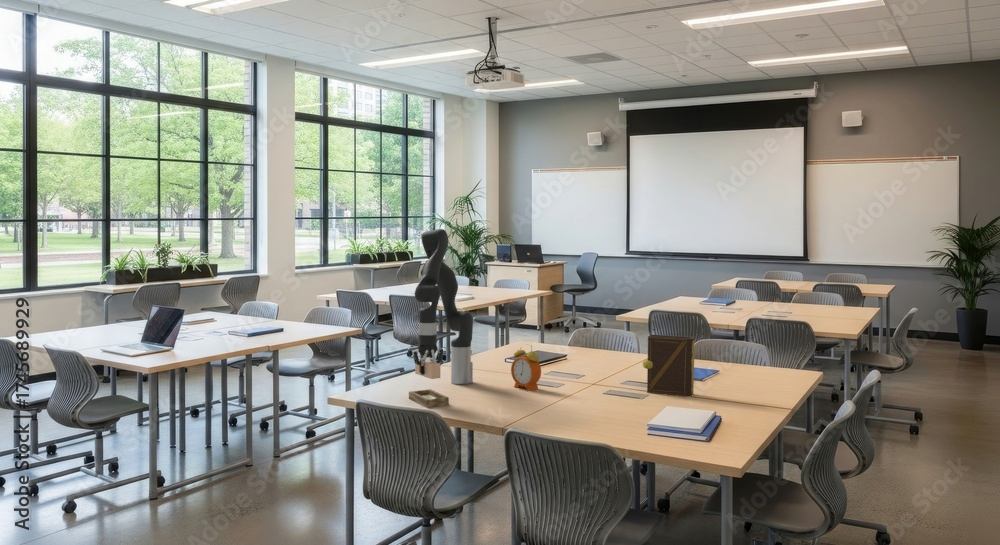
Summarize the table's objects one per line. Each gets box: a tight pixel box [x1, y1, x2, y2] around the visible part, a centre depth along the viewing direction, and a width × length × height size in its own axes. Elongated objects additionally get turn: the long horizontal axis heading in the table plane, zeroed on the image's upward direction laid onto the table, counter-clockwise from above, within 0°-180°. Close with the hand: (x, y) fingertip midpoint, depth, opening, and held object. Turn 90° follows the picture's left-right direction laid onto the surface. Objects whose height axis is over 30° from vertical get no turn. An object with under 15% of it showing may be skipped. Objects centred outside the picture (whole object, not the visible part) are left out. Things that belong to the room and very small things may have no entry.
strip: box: [414, 358, 441, 380], centre depth 321 cm, size 4×14×6 cm, turn 35°
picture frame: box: [408, 388, 450, 409], centre depth 322 cm, size 10×18×3 cm, turn 30°
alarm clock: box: [510, 344, 542, 392], centre depth 347 cm, size 13×6×20 cm, turn 47°
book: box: [642, 334, 695, 397], centre depth 338 cm, size 22×8×25 cm, turn 65°
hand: (427, 373), depth 321 cm, fingers closed on strip, 4 cm apart
